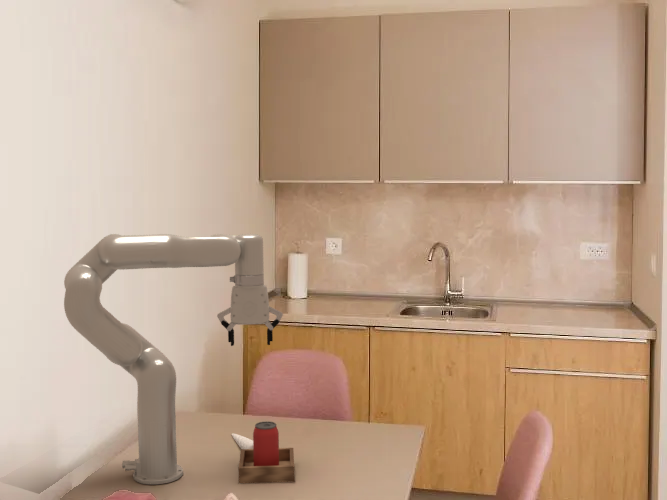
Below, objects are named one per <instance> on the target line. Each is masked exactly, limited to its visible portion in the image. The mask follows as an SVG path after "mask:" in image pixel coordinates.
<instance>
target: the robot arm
mask: <svg viewBox="0 0 667 500" xmlns="http://www.w3.org/2000/svg"><path fill="white" fill-rule="evenodd" d="M233 264H234V275H232V276H229V282H230V283H231V282H232V283H234V285H233V286H232V287H231V295H230V307H228V308H226V309H224V310H223V311H220V312H219V313H217V316H216V317H217V319H218V321H219V322H220V324H221V325H222V326H223V327H224V328H225V329H226V331H227V336H228V337H227V338H228V340H227V341H228V343H230V346H231V347H233V346H235V330H234V327H235V326H236V325H265V326H266V327H267V330H266V335H267V336H266V345H268V346H270V345H271V342H273V341H274V340H273V339H274V338H273V334H274V333H273V330H274V329H275V328H276V327H277V325H279V324H280V321H281V320H282V318H283V316H284V314H283V312H282V311H280V310H278V309H276V308H273V307H272V306H270V301H269V299H270V298H269V291H268V288H267V285H266V284H264V283H265V282H264V280H265V279H264V268H265V267H264V239H263V236H261V235H260V234H256V233H245V234H243V233H242V234H237V235H233V234H224V233H223V234H222V233H215V234H212V235H210V236H209V237H206V236H204V237H202V236H201V237H199V236H198V237H195V236H191V237H189V236H182V235H176V234H167V233H164V234H163V233H160V234H139V235H138V234H137V235H136V234H134V235H133V234H132V235H122V234H119V233H118V234H117V233H113V234H112V233H110V234H108V235H106V236H104V237H103V238H101V239H100V240H99V241H98V242H97V243H96V244H95V245H94V246H93V247H92V248H91V249H90V250H89V251H88V252H87V253H86V254H85V255H84V256H83V257H82V258H80V259H79V260H78V261H77V262H76V263H75V264H73V266H72V267H70V269H69V270H68V271H67V273H66V274H65V276H64V279H63V280H64V281H63V282H64V284H63V285H64V289H65V293H64V298H63V307H64V308H63V309H64V313H65V316H66V318H67V320H68V322H69V324H70V325H71V327H73V329H74V330H76V332H77V333H79V334H80V335H81V336H82V337H83V338H85V340H87V341H88V342H89V343H90V344H91V345H92V346H93V347H95V348H96V350H98V351H99V352H101V354H103V356H104V357H106V359H108V360H109V361H110V362H111V363H113V364H114V365H117V366H120V367H121V368H122V369H124V371H125V372H127V373H128V374H130V375H131V377H133V378H134V379H135V381H136V383H137V398H136V401H137V403H136V404H137V406H136V407H137V408H136V410H137V435H138V436H137V437H138V458H135V459H134V460H131V459H130V460H122V462H121V463H122V464H121V467H122V469H124V470H125V472H127V471H133V474H132V476H133V477H132V478H133V480H134V481H135V482H137V483H139V484H143V485H162V484H163V485H164V484H167V483H171V482H174V481H177V480H179V479H181V477H182V476H183V474H184V469H183V467H182V466H180V465H179V464H178V459H177V458H178V457H177V456H178V455H177V453H178V452H177V422H176V421H177V420H176V419H177V418H176V416H177V415H176V390H177V373H176V368H175V366H174V365H173V363H172V362H171V360H170V359H169V358H168V357H167V356H166V355H165V354H164V353H163V352H162V351H161V350H159V349H158V348H157V347H156V346H155V345H153V344H152V343H151V342H150V341H149V340H148V339H146V338H145V337H144V336H143V335H141V334H140V333H139V332H138V331H137V330H136V329H135V328H133V327H132V326H130V325H129V324H126V323H123V322H121V321H120V320H118V319H117V318H116V317H115V316H114V315H113V314H112V313H111V312H110V311H108V310H107V308H105V307H104V306H103V305H102V303H101V299H100V298H101V293H102V289H103V284H104V283H105V282H106V281H107V280H108V279H110V277H111V276H113V274H115V272H116V271H118V270H120V271H121V270H123V271H124V270H140V269H141V270H143V269H166V268H167V269H168V268H169V269H170V268H172V269H177V268H178V269H179V268H209V267H210V268H212V267H214V268H215V267H227V266H228V267H229V266H231V265H233ZM229 314H230V322H228V321H227V320H226V319H225V317H226V316H227V315H229ZM270 314H273V315H275V316H276V317H275V319H274V320H272V322H271V321H270Z"/></svg>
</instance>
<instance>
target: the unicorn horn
mask: <svg viewBox="0 0 667 500" xmlns="http://www.w3.org/2000/svg"><path fill="white" fill-rule="evenodd" d="M231 437H232V438H233V440H234V441H235V442H236V444H237V445H238V446H239V448H240V450H241V449H253V439H251V438H248V437H246V436H243V435H241V434H237V433H231Z"/></svg>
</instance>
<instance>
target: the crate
mask: <svg viewBox="0 0 667 500" xmlns="http://www.w3.org/2000/svg"><path fill="white" fill-rule="evenodd" d="M292 482H295V454H294V447H279V465H277V466H254V455H253V449H241V448H240V455H239V463H238V484H239V483H243V484H267V483H269V484H271V483H292Z"/></svg>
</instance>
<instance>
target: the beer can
mask: <svg viewBox="0 0 667 500" xmlns="http://www.w3.org/2000/svg"><path fill="white" fill-rule="evenodd" d="M279 433H280V432H279V430H278V426H277V423H276V422H273V421H266V420H265V421H260V422H257V423H255V425H254V429H253V433H252V440H253V455H254V466H277V465H279V448H280V447H279V445H280V443H279V442H280V439H279V436H280V435H279Z"/></svg>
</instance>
